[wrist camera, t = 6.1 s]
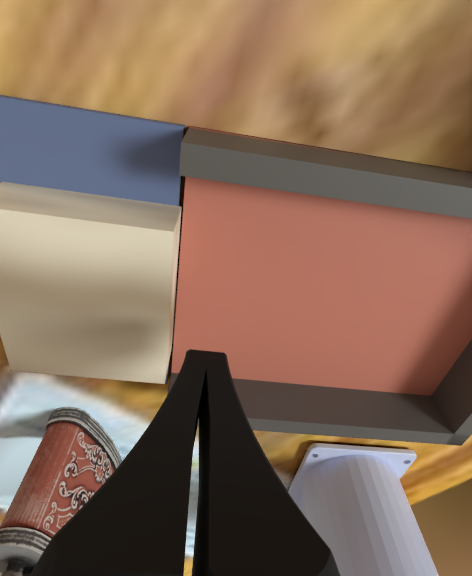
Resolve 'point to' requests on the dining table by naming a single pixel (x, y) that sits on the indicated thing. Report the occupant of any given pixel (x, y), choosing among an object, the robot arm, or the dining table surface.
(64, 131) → the indigo mat
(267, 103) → the dining table surface
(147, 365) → the slab
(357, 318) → the grey and pink tray
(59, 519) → the lighter
